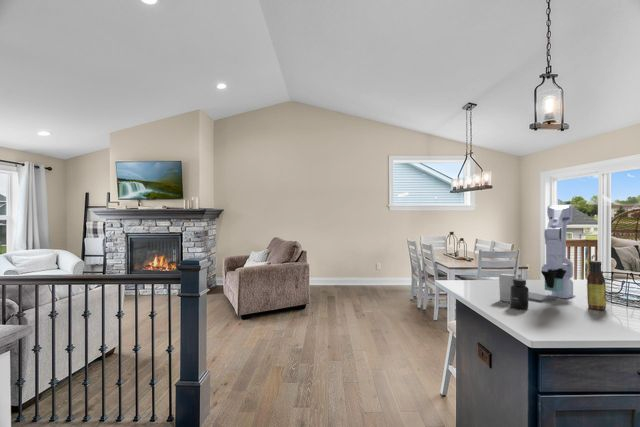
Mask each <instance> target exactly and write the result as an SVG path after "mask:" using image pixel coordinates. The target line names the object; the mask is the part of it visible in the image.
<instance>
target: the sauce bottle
mask: <svg viewBox="0 0 640 427" xmlns="http://www.w3.org/2000/svg"><path fill="white" fill-rule="evenodd" d="M589 268H590V269H589V271H590V272H589V274H588V275H587V277H586V279H587V280H586V281H587V283H586V294H587V295H586V296H587V298H586V299H587V307H588V308H589V309H591V310H597V311H604V310H606V308H607V292H606V287H607V286H606V279H605V277H604V274H603V272H602V261H600V260H590V261H589Z"/></svg>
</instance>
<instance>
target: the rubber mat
mask: <svg viewBox="0 0 640 427" xmlns="http://www.w3.org/2000/svg"><path fill="white" fill-rule="evenodd" d="M553 300H556V297H554V296H548V294H541V293H535V292H532V291H531V292H530V291H529V298H528V301H531V302H532V301H533V302H538V303H543V302H549V301H553Z"/></svg>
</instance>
